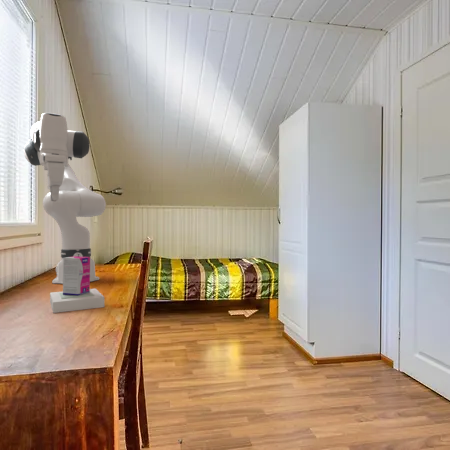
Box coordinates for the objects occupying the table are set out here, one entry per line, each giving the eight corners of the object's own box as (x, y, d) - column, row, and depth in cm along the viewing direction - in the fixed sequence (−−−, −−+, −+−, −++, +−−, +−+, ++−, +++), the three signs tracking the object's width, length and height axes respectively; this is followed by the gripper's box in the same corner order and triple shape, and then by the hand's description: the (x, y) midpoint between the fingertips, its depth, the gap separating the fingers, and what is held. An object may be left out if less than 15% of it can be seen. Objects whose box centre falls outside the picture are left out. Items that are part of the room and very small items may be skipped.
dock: (49, 301, 115) (49, 291, 115) (95, 296, 121) (95, 287, 121) (52, 312, 100) (52, 301, 100) (104, 306, 107) (104, 296, 107)
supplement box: (78, 295, 107) (78, 258, 107) (62, 295, 108) (61, 257, 108) (90, 292, 112) (90, 256, 112) (74, 291, 114) (74, 255, 114)
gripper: (42, 164, 129) (43, 202, 129) (45, 154, 111) (45, 198, 111) (61, 165, 132) (62, 202, 132) (66, 156, 114) (67, 199, 114)
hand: (54, 200), depth 121 cm, fingers open, 8 cm apart
